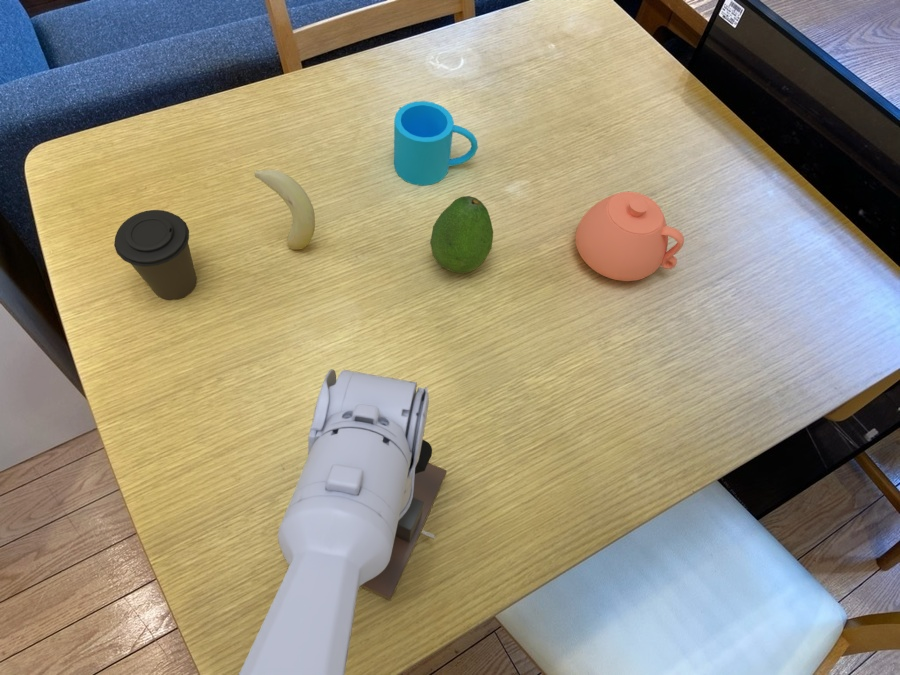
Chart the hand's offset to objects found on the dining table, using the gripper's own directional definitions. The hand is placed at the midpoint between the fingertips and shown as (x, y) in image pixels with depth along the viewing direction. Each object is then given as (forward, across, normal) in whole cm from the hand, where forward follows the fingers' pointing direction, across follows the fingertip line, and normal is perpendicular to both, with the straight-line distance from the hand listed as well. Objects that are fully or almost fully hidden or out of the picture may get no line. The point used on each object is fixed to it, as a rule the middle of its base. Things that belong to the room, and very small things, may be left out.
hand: (377, 518), depth 58 cm
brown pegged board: (+8, -2, -2) cm, 9 cm away
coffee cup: (+8, -18, -37) cm, 42 cm away
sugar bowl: (+8, -48, +14) cm, 51 cm away
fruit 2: (+8, -37, -6) cm, 38 cm away
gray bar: (+6, -2, -2) cm, 7 cm away
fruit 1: (+8, -30, -27) cm, 41 cm away
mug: (+8, -52, -16) cm, 55 cm away
